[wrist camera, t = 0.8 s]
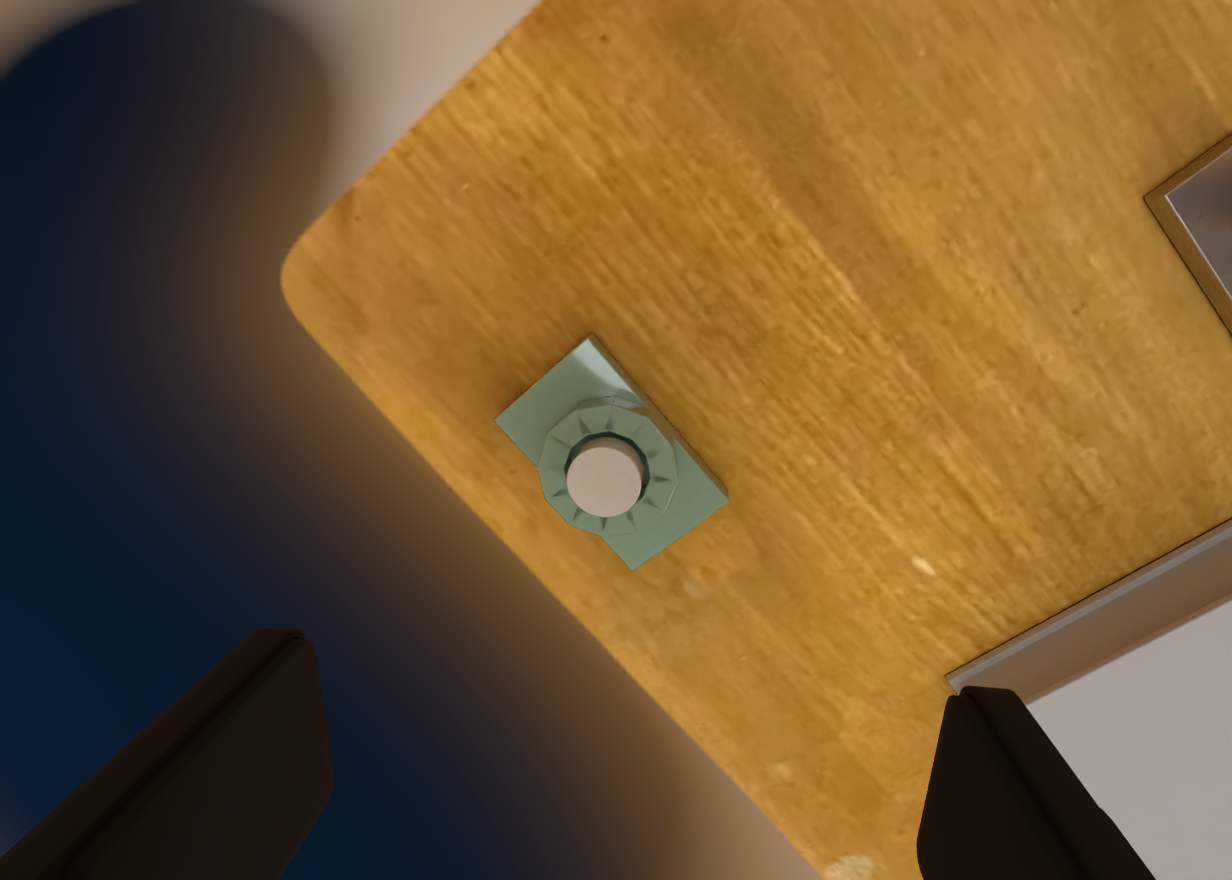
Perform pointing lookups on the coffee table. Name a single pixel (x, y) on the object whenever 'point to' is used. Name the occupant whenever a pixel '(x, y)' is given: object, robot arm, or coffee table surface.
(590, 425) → the green push button base
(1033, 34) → the coffee table surface
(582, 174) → the coffee table surface
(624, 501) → the beige push button
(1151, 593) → the book
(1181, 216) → the lever stand
